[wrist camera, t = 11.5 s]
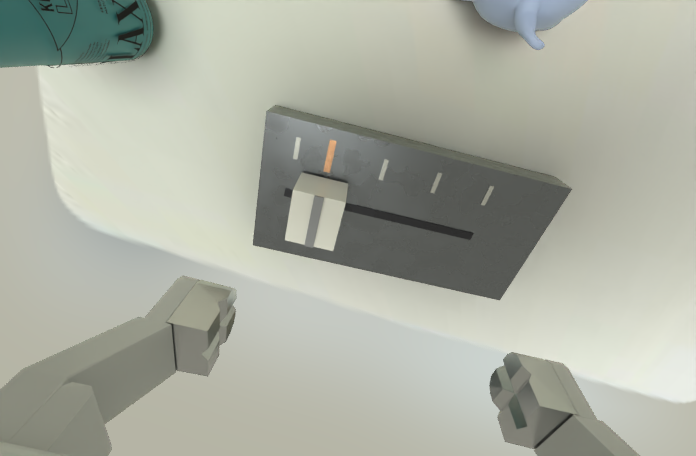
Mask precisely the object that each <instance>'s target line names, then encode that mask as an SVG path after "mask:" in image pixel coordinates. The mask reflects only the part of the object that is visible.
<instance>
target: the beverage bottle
mask: <svg viewBox="0 0 696 456" xmlns="http://www.w3.org/2000/svg"><path fill="white" fill-rule="evenodd" d="M152 37H153V22H152V17H151V13H150V10H149V8H148V5H147V3H146V1H145V0H0V68H2V67H18V66H37V65H47V66H49V67H50V66H53V65H59V66H58V67H60V65H68V64H73V65H74V64H81V65H82V63H83V64H84V63H89V65H90V63H98V62H102V63H106V62H111V61H123V60H132V59H136V58H137V57H139V56H140V55H142V54H143V53H145V52H146V50H147V49H148V47H149V46H150V44H151V41H152ZM139 58H140V57H139ZM139 58H138V59H139ZM134 61H135V60H134ZM115 63H117V62H115ZM121 63H123V62H121ZM125 63H126V62H125ZM100 64H101V63H100ZM84 65H85V64H84ZM87 65H88V64H87ZM96 65H97V64H96ZM75 66H76V65H75ZM78 66H79V65H78ZM58 67H57V68H58ZM71 67H72V66H71ZM51 68H53V67H51Z"/></svg>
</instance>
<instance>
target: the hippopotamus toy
mask: <svg viewBox="0 0 696 456" xmlns="http://www.w3.org/2000/svg"><path fill="white" fill-rule="evenodd" d="M463 1H473V4H474V6H475V8H476V10H477V12H478V13H479V15H480V16H481V17H482V18H483V19H484V20H486V21H487V22H489V23H490V24H492V25H494V26H497V27H499V28H502V29H505V30H509V31H513V32H518V33H519V35H520V36H521V37H522V38H523V39H524V40H525V41H526V42H527V43H528V44H529V45H530V46H531V47H532V48H534V49H536V50H540V49H542V48H543V47H544V43H543V42H542V41H541V40H540V39H539V38H538V37H537V36H536V34H535V31H537V30H548V29H551V28H553V27H554V26H556V25H557V24H558V23H559V22H560V21H561V20H563V19H564V18H566V17H568V16H569V15H571V14H572V13H573V12H575V11H576V10H577V9H579V8H580V7H581V6H582V5H583V4H584V3H585V2H587V1H588V0H463Z"/></svg>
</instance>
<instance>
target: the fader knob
mask: <svg viewBox="0 0 696 456" xmlns="http://www.w3.org/2000/svg"><path fill="white" fill-rule="evenodd" d="M347 190H348V183H344V182H340V181H336V180H331V179H327V178H323V177H319V176H315V175H311V174H307V173H303V172H302V173H301V175H300V177H299V179H298V181H297V183H296V185H295V187H294V189H293V192H292V198H291V205H290V211H289V217H288V223H287V229H286V235H285V240H286V241H290V242H295V243H299V244H303V245H304V246H306V247H311V248H313V247H317V248H321V249H326V250H330V251H333V250H334V246H335V242H336V238H337V234H338V231H339V227H340V223H341V219H342V215H343V211H344V208H345V204H346V198H347Z"/></svg>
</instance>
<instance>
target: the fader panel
mask: <svg viewBox="0 0 696 456" xmlns="http://www.w3.org/2000/svg"><path fill="white" fill-rule="evenodd" d="M302 172H303V173H307V174H311V175H315V176H319V177H323V178H327V179H331V180H336V181H340V182H344V183H348V190H347V198H346V204H345V208H344V211H343V215H342V219H341V223H340V227H339V231H338V234H337V238H336V242H335V246H334V250H333V251H330V250H326V249H321V248H317V247H313V248H311V247H306V246H304V245H303V244H299V243H295V242H290V241H286V240H285V235H286V229H287V223H288V217H289V211H290V205H291V198H292V192H293V189H294V187H295V185H296V183H297V181H298V179H299V177H300V175H301V173H302ZM571 190H572V189H571V188H570V187H568V186H567V185H566V184H564V183H563V182H562V181H560V180H559V179H557V178H556V177H554V176H550V175H546V174H542V173H538V172H534V171H530V170H526V169H522V168H519V167H515V166H511V165H507V164H503V163H499V162H495V161H491V160H487V159H483V158H480V157H476V156H472V155H468V154H464V153H460V152H456V151H452V150H448V149H445V148H441V147H437V146H433V145H429V144H425V143H421V142H417V141H413V140H410V139H406V138H402V137H398V136H394V135H390V134H386V133H382V132H378V131H374V130H371V129H367V128H363V127H359V126H355V125H351V124H347V123H343V122H339V121H336V120H332V119H328V118H324V117H320V116H316V115H312V114H308V113H304V112H301V111H297V110H293V109H289V108H285V107H281V106H277V105H275V106H273V107H272V108H270V109H269V110H268V111H267V112H266V122H265V132H264V141H263V151H262V161H261V171H260V180H259V190H258V200H257V210H256V219H255V229H254V239H253V245H255V246H259V247H264V248H268V249H273V250H277V251H282V252H286V253H291V254H295V255H300V256H304V257H309V258H313V259H317V260H322V261H326V262H331V263H335V264H340V265H344V266H349V267H353V268H358V269H362V270H367V271H371V272H376V273H380V274H385V275H389V276H394V277H398V278H402V279H407V280H411V281H416V282H420V283H425V284H429V285H434V286H438V287H443V288H447V289H452V290H456V291H461V292H465V293H470V294H474V295H478V296H483V297H487V298H492V299H496V300H500V299H501V297H502V296H503V294H504V293H505V291H506V290H507V288H508V287H509V285H510V284H511V282H512V281H513V279H514V277H515V276H516V274H517V273H518V271H519V270H520V268H521V267H522V265H523V264H524V262H525V261H526V259H527V257H528V256H529V254H530V253H531V251H532V250H533V248H534V247H535V245H536V244H537V242H538V241H539V239H540V237H541V236H542V234H543V233H544V231H545V230H546V228H547V227H548V225H549V224H550V222H551V221H552V219H553V217H554V216H555V214H556V213H557V211H558V210H559V208H560V207H561V205H562V204H563V202H564V201H565V199H566V197H567V196H568V194H569V193H570V191H571Z"/></svg>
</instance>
